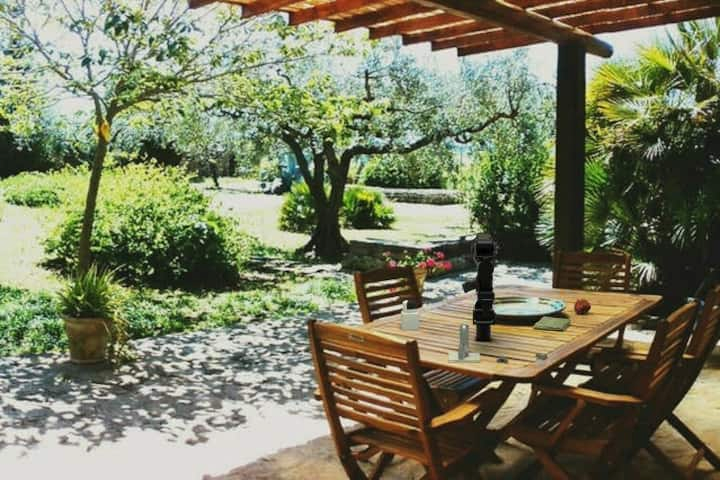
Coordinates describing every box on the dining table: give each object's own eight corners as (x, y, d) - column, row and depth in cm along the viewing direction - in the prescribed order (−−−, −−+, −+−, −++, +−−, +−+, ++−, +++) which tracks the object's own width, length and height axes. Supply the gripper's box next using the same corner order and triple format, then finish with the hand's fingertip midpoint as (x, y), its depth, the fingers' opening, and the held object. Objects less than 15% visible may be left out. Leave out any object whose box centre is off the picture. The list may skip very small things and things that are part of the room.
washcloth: (531, 330, 302) (531, 323, 301) (542, 322, 317) (542, 315, 317) (563, 333, 295) (563, 325, 295) (572, 325, 311) (573, 317, 311)
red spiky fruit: (593, 319, 330) (585, 303, 337) (595, 309, 325) (587, 293, 332) (577, 322, 330) (570, 305, 337) (579, 311, 325) (572, 295, 332)
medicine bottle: (417, 326, 312) (417, 299, 311) (419, 330, 305) (419, 301, 304) (401, 327, 312) (400, 299, 311) (402, 330, 305) (402, 302, 304)
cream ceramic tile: (448, 354, 262) (448, 352, 262) (479, 354, 261) (479, 352, 261) (448, 362, 252) (448, 359, 252) (480, 362, 250) (480, 360, 250)
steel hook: (461, 354, 258) (460, 324, 258) (469, 355, 257) (469, 324, 256) (456, 359, 252) (455, 328, 251) (465, 360, 251) (465, 328, 250)
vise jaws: (494, 360, 253) (494, 356, 253) (542, 356, 257) (542, 352, 257) (500, 363, 248) (500, 360, 248) (549, 359, 253) (549, 356, 252)
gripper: (462, 269, 277) (462, 310, 278) (463, 276, 258) (463, 319, 260) (491, 269, 275) (492, 310, 277) (494, 276, 257) (495, 319, 258)
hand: (485, 314), depth 268 cm, fingers open, 9 cm apart
